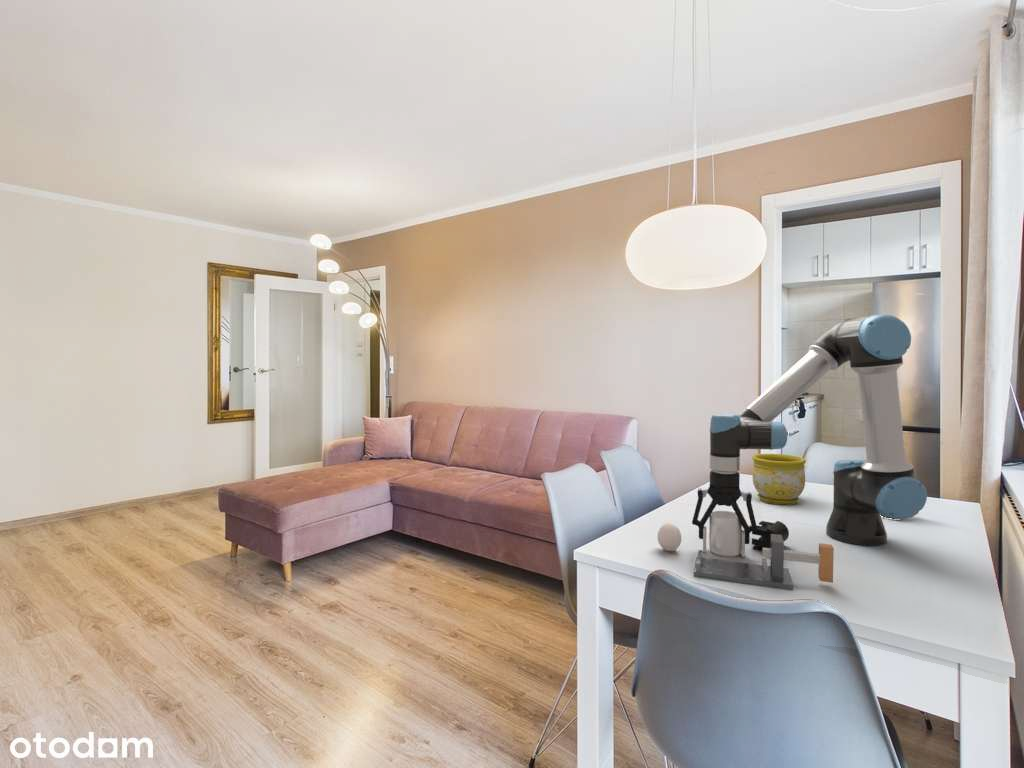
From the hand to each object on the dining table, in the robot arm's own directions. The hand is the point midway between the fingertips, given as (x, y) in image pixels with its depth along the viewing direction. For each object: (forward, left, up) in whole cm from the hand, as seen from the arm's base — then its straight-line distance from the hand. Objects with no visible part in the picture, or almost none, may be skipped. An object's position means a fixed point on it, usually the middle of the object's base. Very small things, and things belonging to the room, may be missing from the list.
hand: (723, 552), depth 145 cm
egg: (+14, +3, 0) cm, 14 cm away
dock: (-4, +14, 0) cm, 15 cm away
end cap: (-12, -10, -1) cm, 16 cm away
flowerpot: (-18, -68, 0) cm, 70 cm away
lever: (-16, +14, +1) cm, 21 cm away
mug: (0, 0, 0) cm, 1 cm away
